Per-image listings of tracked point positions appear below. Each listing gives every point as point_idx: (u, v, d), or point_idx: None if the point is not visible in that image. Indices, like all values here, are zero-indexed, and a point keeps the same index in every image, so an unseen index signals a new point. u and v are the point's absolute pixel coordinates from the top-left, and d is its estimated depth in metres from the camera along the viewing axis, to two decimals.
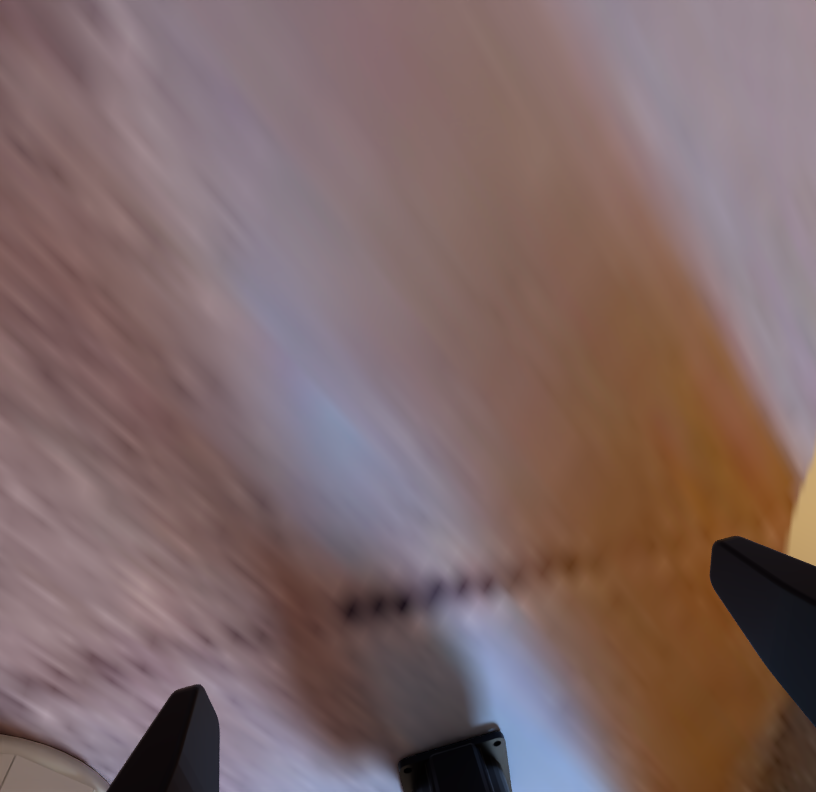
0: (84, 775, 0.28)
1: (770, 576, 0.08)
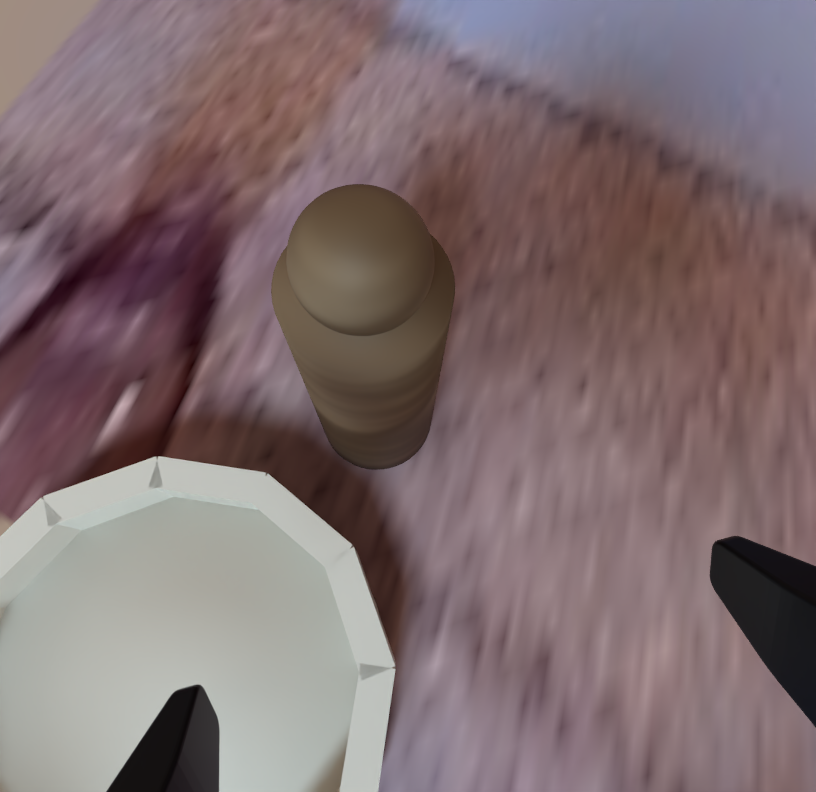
0: None
1: (770, 576, 0.08)
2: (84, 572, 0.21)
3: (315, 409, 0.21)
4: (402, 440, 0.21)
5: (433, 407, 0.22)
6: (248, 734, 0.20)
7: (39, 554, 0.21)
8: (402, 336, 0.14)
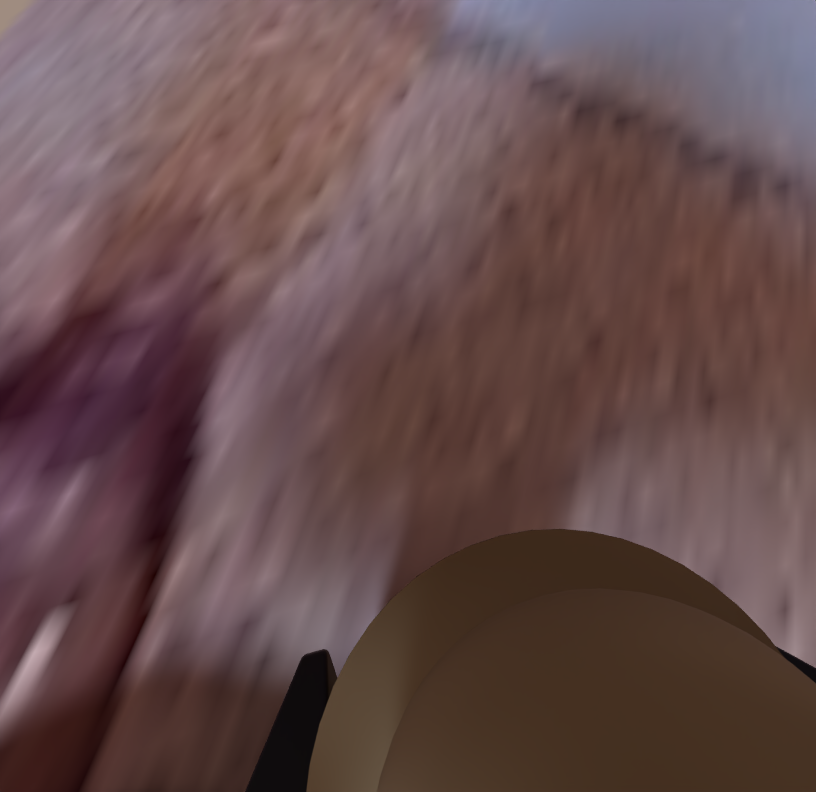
0: None
1: None
2: None
3: None
4: None
5: None
6: None
7: None
8: None
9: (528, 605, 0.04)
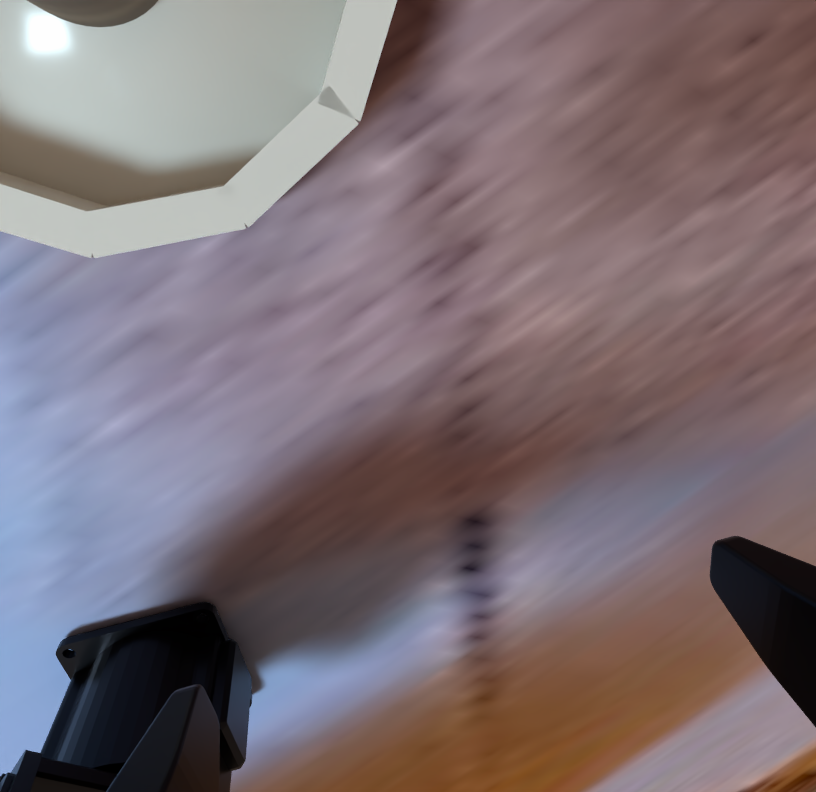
0: None
1: (770, 576, 0.08)
2: None
3: None
4: None
5: None
6: (155, 53, 0.15)
7: None
8: None
9: None
